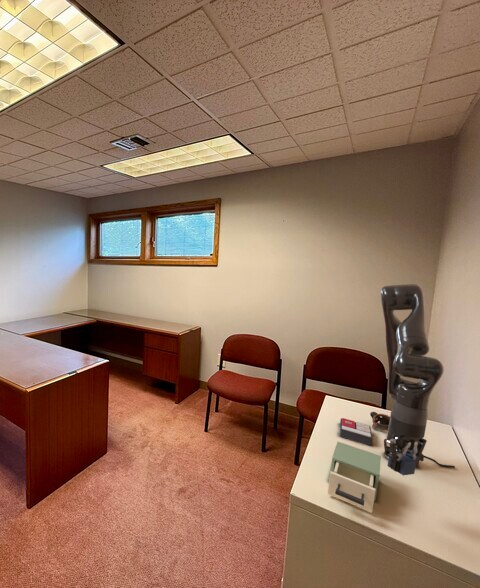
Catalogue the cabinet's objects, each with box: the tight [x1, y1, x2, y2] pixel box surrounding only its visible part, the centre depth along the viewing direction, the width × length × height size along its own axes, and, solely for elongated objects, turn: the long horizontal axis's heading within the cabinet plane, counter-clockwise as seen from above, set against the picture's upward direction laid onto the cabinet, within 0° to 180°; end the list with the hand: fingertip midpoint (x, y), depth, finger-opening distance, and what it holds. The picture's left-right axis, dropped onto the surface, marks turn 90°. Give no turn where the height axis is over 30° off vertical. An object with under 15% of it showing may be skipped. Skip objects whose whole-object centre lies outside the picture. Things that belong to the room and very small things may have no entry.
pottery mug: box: [369, 411, 390, 431], centre depth 154 cm, size 12×10×8 cm
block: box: [387, 453, 417, 476], centre depth 100 cm, size 4×4×4 cm
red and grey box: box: [339, 417, 373, 446], centre depth 147 cm, size 11×4×15 cm
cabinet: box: [328, 440, 382, 502], centre depth 115 cm, size 15×13×10 cm
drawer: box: [327, 462, 376, 514], centre depth 107 cm, size 19×11×8 cm, turn 136°
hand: (400, 468), depth 100 cm, fingers closed on block, 4 cm apart
